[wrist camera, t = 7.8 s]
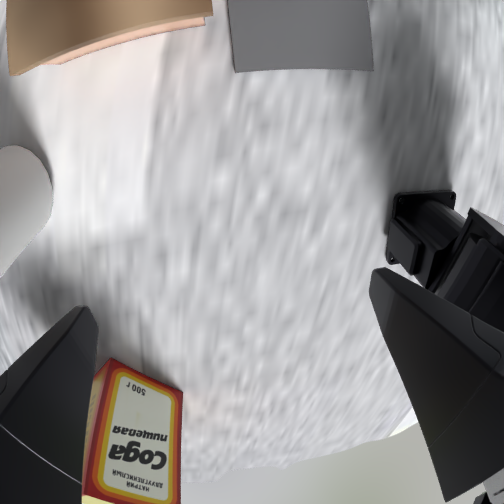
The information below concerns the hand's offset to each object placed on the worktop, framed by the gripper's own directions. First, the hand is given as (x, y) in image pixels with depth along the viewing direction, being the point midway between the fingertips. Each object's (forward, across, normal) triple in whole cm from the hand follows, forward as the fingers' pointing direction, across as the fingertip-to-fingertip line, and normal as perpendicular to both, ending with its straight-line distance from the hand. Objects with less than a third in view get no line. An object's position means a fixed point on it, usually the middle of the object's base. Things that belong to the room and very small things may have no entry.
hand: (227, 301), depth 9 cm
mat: (+13, -6, -12) cm, 19 cm away
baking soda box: (+13, +14, +23) cm, 30 cm away
